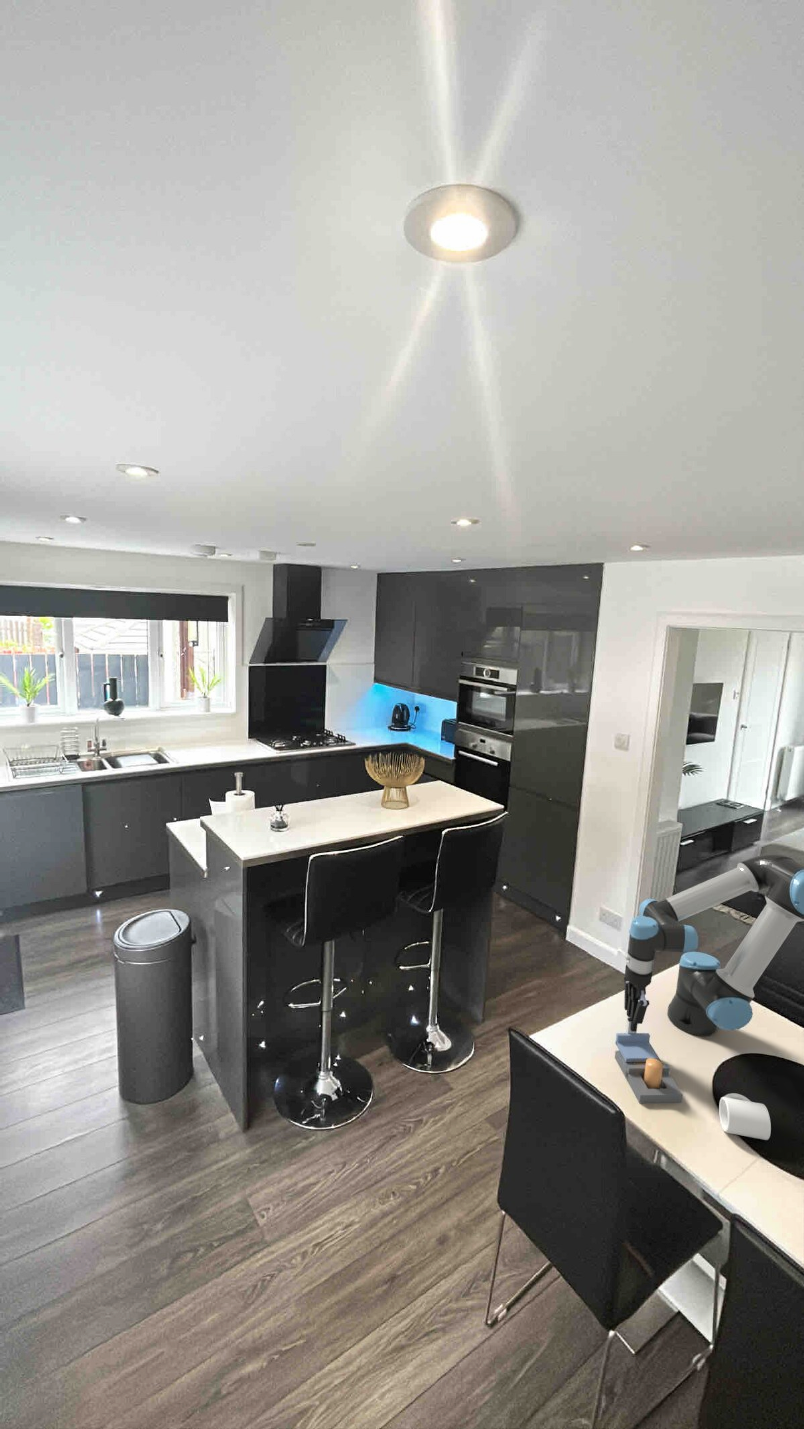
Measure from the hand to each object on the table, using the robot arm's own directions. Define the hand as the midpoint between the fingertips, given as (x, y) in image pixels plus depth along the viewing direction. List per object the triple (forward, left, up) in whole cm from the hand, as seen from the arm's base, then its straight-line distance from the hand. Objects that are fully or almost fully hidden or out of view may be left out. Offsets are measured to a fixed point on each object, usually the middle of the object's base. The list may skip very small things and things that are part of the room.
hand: (630, 1037), depth 190 cm
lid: (0, +5, -1) cm, 5 cm away
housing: (0, +12, -4) cm, 13 cm away
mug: (-18, +28, -5) cm, 34 cm away
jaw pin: (0, +15, -4) cm, 16 cm away
